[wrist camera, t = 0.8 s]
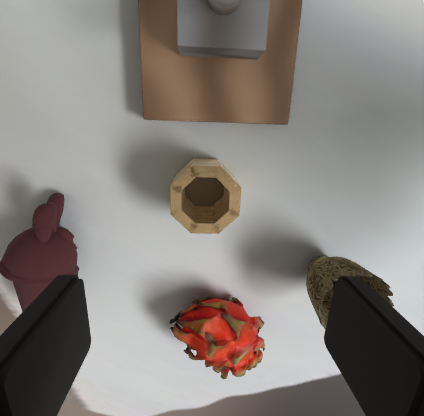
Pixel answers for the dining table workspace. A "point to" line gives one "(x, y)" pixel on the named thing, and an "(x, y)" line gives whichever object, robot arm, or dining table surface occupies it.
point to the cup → (326, 278)
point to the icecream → (40, 253)
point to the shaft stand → (218, 59)
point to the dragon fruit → (220, 335)
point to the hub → (205, 215)
